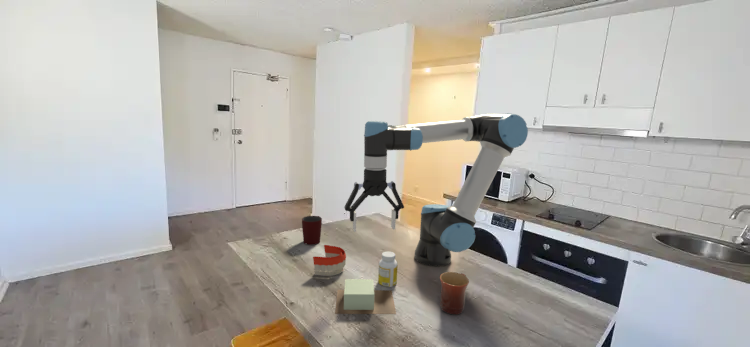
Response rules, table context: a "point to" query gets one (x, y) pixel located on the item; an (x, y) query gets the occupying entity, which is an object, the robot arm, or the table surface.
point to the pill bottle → (387, 270)
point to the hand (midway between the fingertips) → (374, 229)
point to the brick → (359, 294)
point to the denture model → (330, 261)
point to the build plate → (381, 303)
